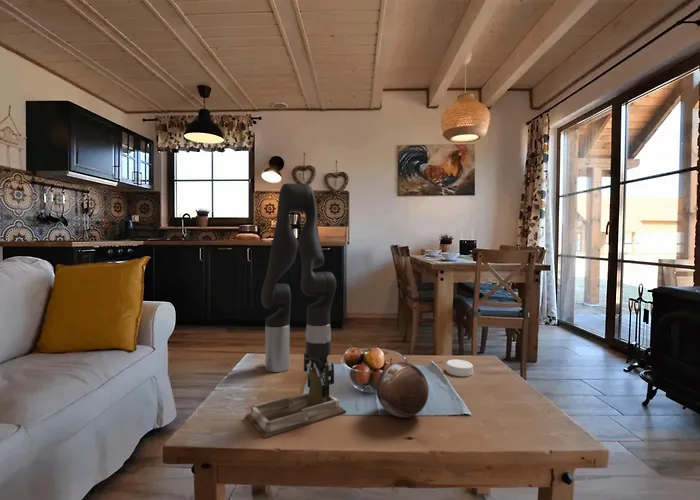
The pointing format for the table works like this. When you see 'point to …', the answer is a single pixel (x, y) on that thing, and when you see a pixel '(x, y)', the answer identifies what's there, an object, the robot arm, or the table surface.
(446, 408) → the table surface
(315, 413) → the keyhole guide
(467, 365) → the white disc
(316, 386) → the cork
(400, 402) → the wooden sphere
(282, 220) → the robot arm
